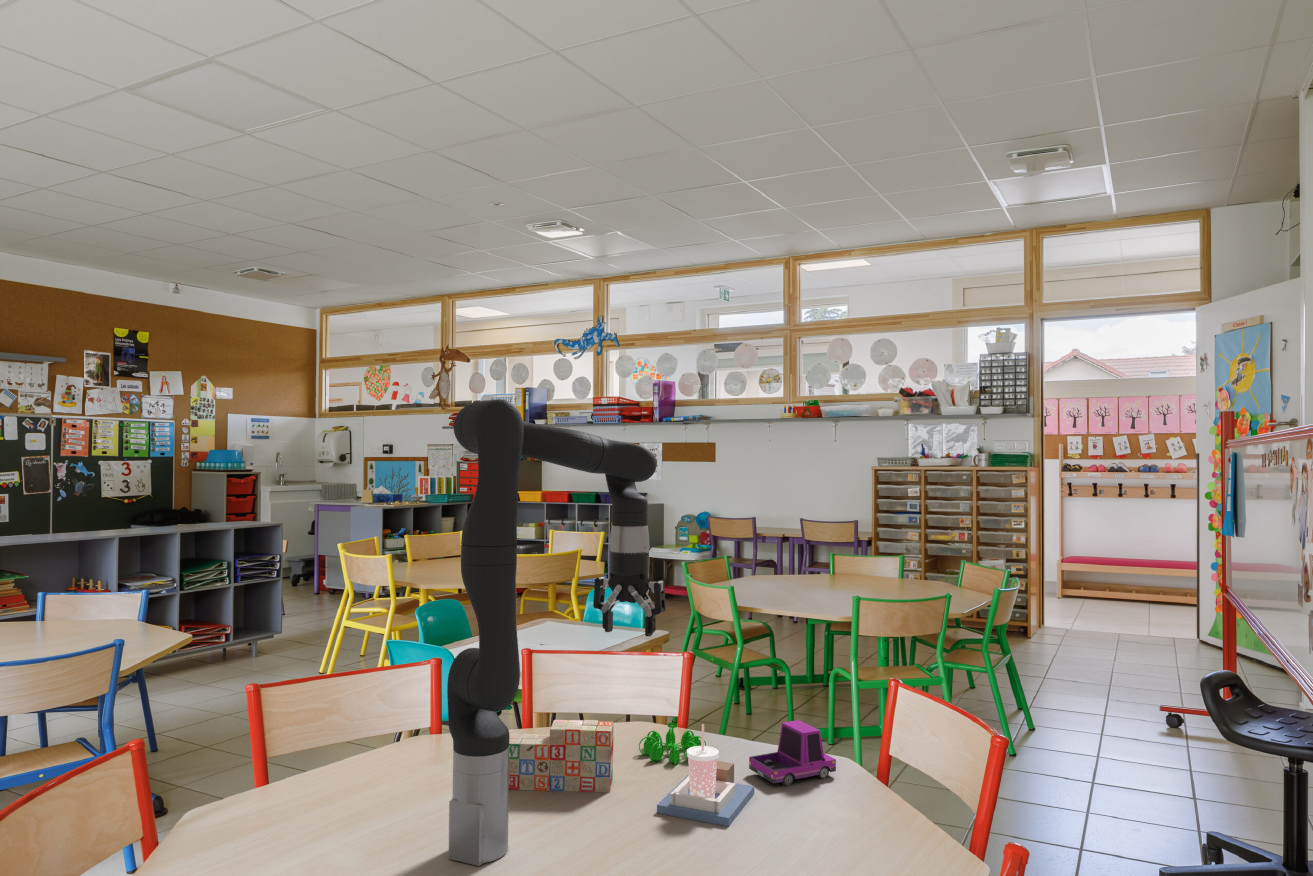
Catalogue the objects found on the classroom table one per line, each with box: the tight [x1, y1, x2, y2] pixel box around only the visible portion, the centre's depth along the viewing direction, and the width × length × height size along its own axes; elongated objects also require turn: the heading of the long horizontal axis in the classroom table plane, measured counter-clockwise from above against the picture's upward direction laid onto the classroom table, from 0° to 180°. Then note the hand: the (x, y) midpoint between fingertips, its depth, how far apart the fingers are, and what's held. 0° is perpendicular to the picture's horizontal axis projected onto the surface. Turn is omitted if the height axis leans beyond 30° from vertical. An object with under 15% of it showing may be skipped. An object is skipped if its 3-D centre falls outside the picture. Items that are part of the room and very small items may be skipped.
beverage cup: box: [686, 723, 720, 799], centre depth 158 cm, size 6×6×14 cm
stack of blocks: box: [509, 719, 615, 793], centre depth 168 cm, size 21×6×12 cm, turn 88°
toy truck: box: [748, 719, 837, 787], centre depth 174 cm, size 11×16×10 cm
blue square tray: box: [656, 760, 755, 827], centre depth 160 cm, size 16×14×6 cm
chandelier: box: [638, 722, 707, 766], centre depth 186 cm, size 15×15×7 cm
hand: (628, 633), depth 161 cm, fingers open, 8 cm apart
